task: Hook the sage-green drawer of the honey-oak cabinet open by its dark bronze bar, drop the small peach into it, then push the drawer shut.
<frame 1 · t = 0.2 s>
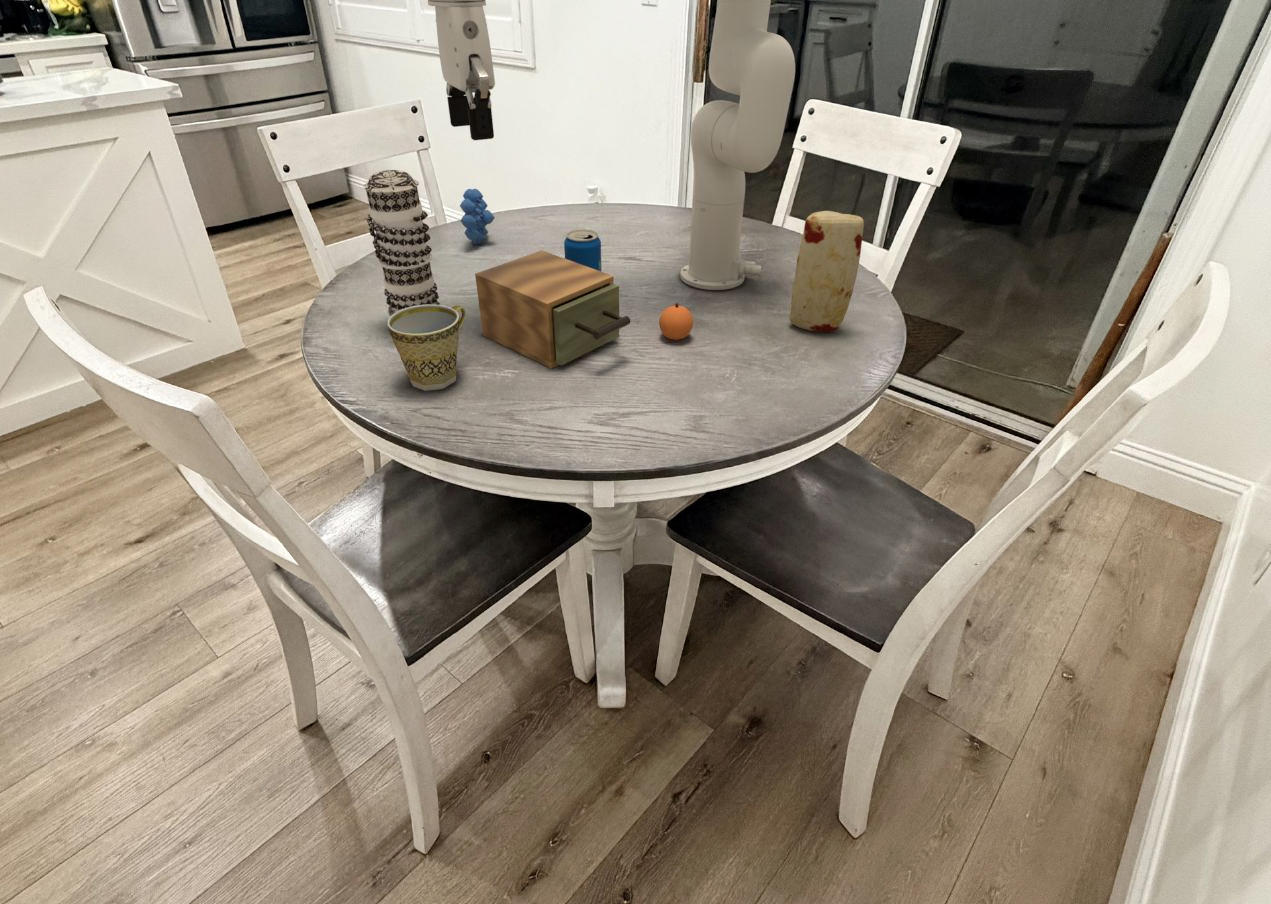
hand: (472, 132, 103), 31 cm above the table, tool pointing down, fingers open, 9 cm apart
drawer: (567, 315, 112), point 5 cm above the table, slide at 0.5 cm
cabinet: (548, 336, 118), on the table
food model: (815, 329, 121), on the table
grapes: (482, 245, 153), on the table
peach: (676, 322, 116), point 3 cm above the table
decorative candle: (418, 326, 121), on the table
beverage can: (584, 299, 130), on the table
ceramic cup: (441, 376, 107), on the table
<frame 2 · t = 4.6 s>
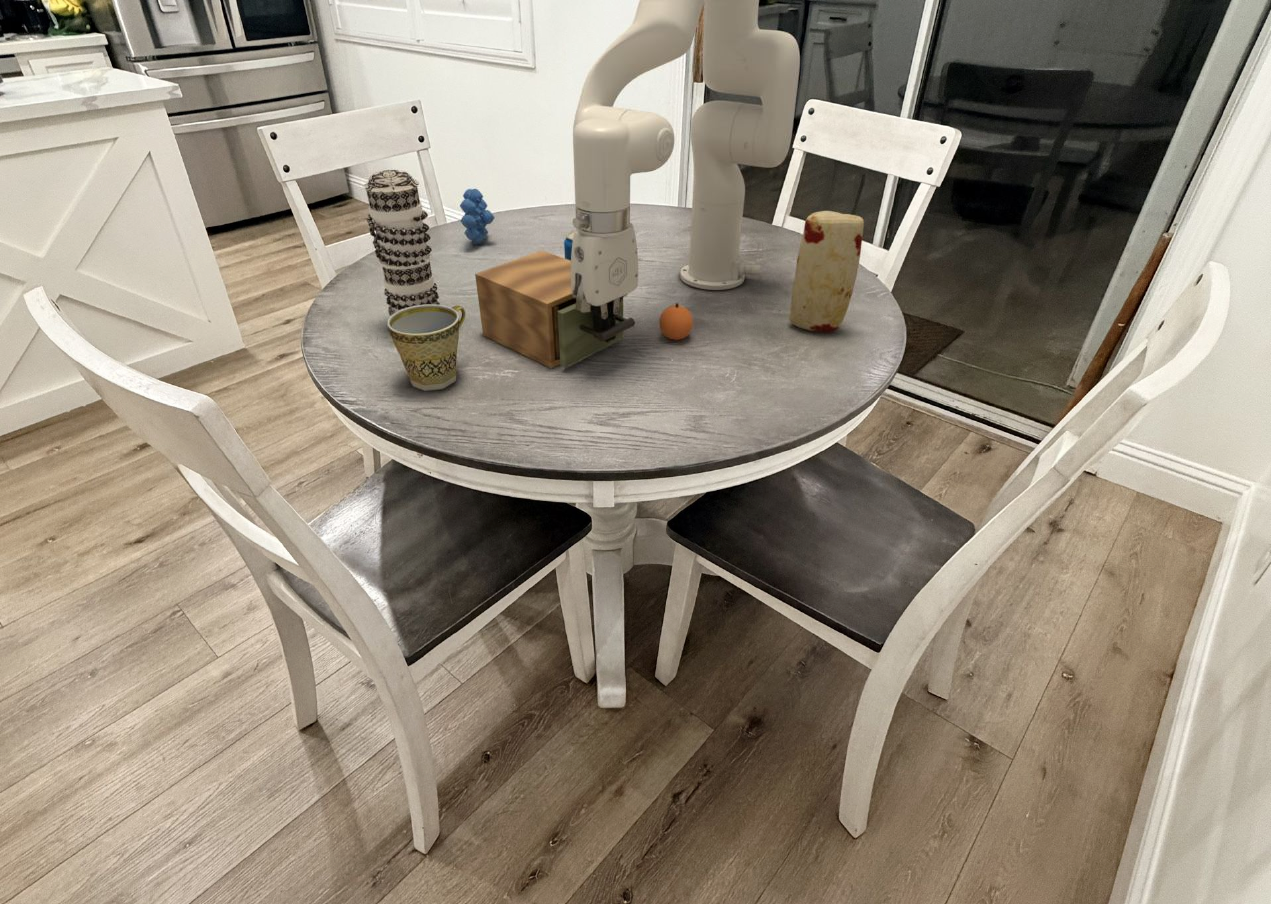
hand: (604, 337, 108), 4 cm above the table, tool pointing down, fingers closed
drawer: (571, 317, 112), point 5 cm above the table, slide at 1.4 cm, touching gripper
everything else where it was.
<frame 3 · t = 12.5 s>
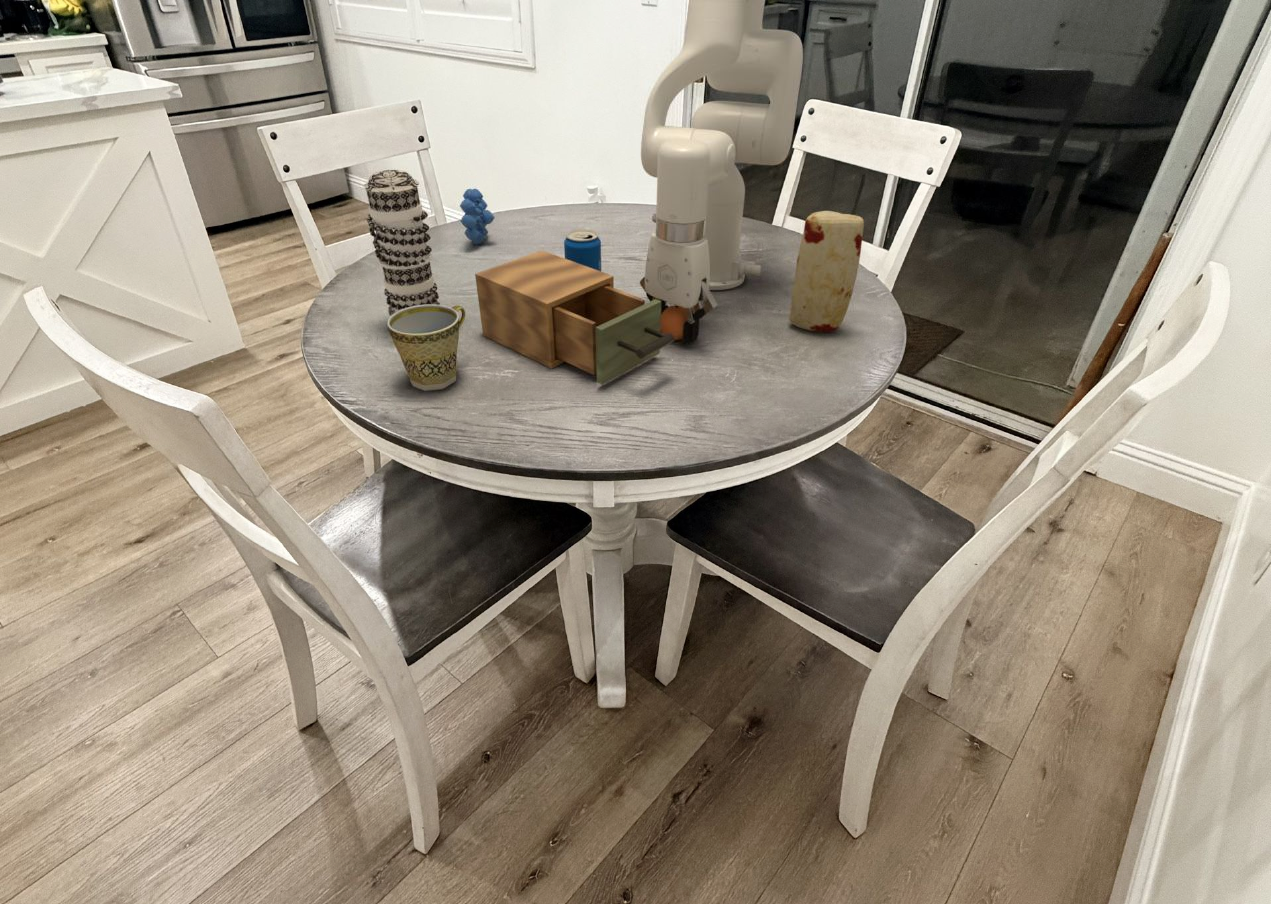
hand: (675, 335, 118), 1 cm above the table, tool pointing down, fingers closed on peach, 5 cm apart
drawer: (607, 331, 107), point 5 cm above the table, slide at 9.2 cm
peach: (676, 322, 116), point 3 cm above the table, touching gripper
everything else where it was.
when the fingers open (9 cm above the table, at t = 17.9 s): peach stays where it is, resting on drawer.
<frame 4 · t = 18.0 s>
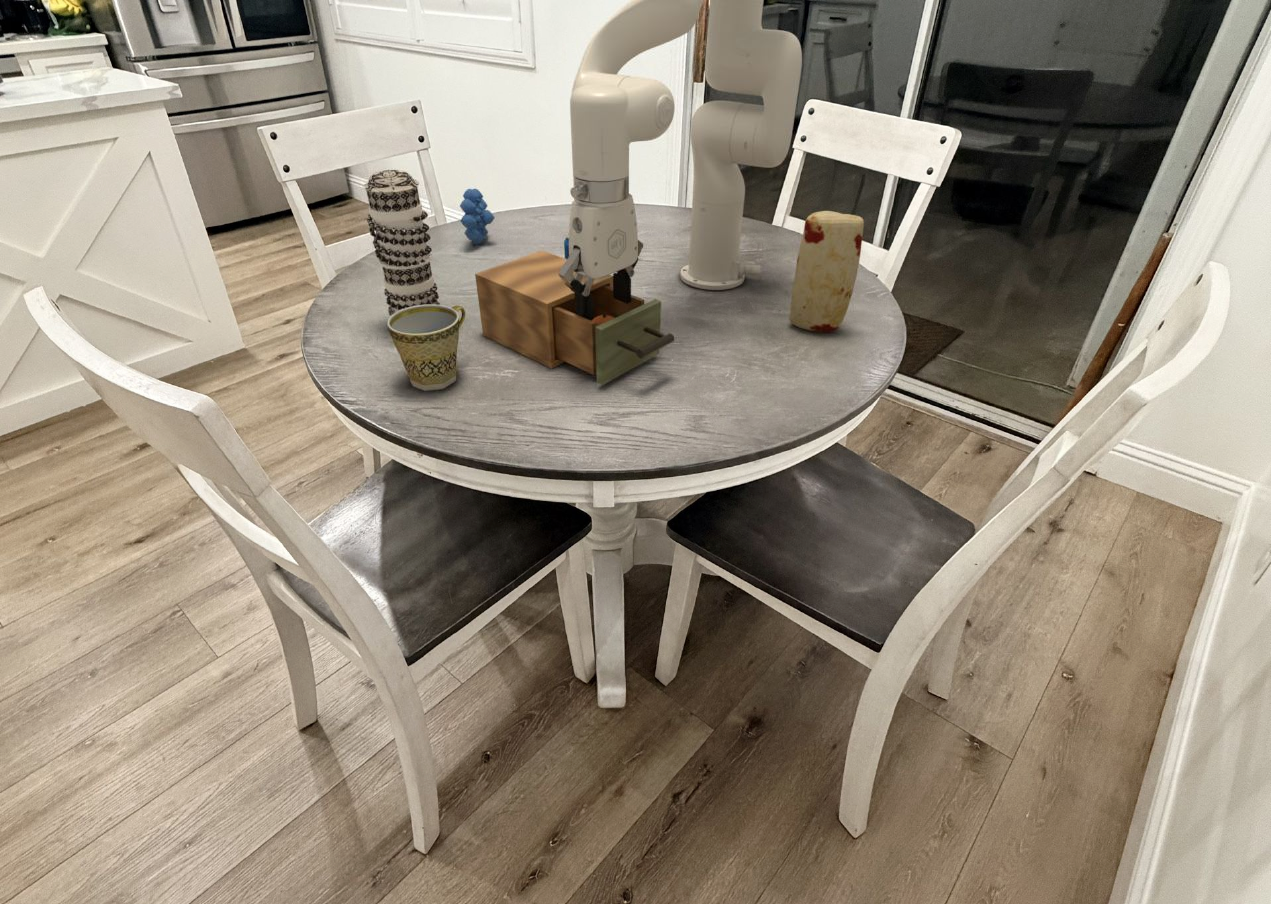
hand: (603, 308, 106), 9 cm above the table, tool pointing down, fingers open, 7 cm apart
drawer: (606, 331, 107), point 5 cm above the table, slide at 9.1 cm, touching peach
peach: (604, 333, 108), point 5 cm above the table, touching drawer
everything else where it was.
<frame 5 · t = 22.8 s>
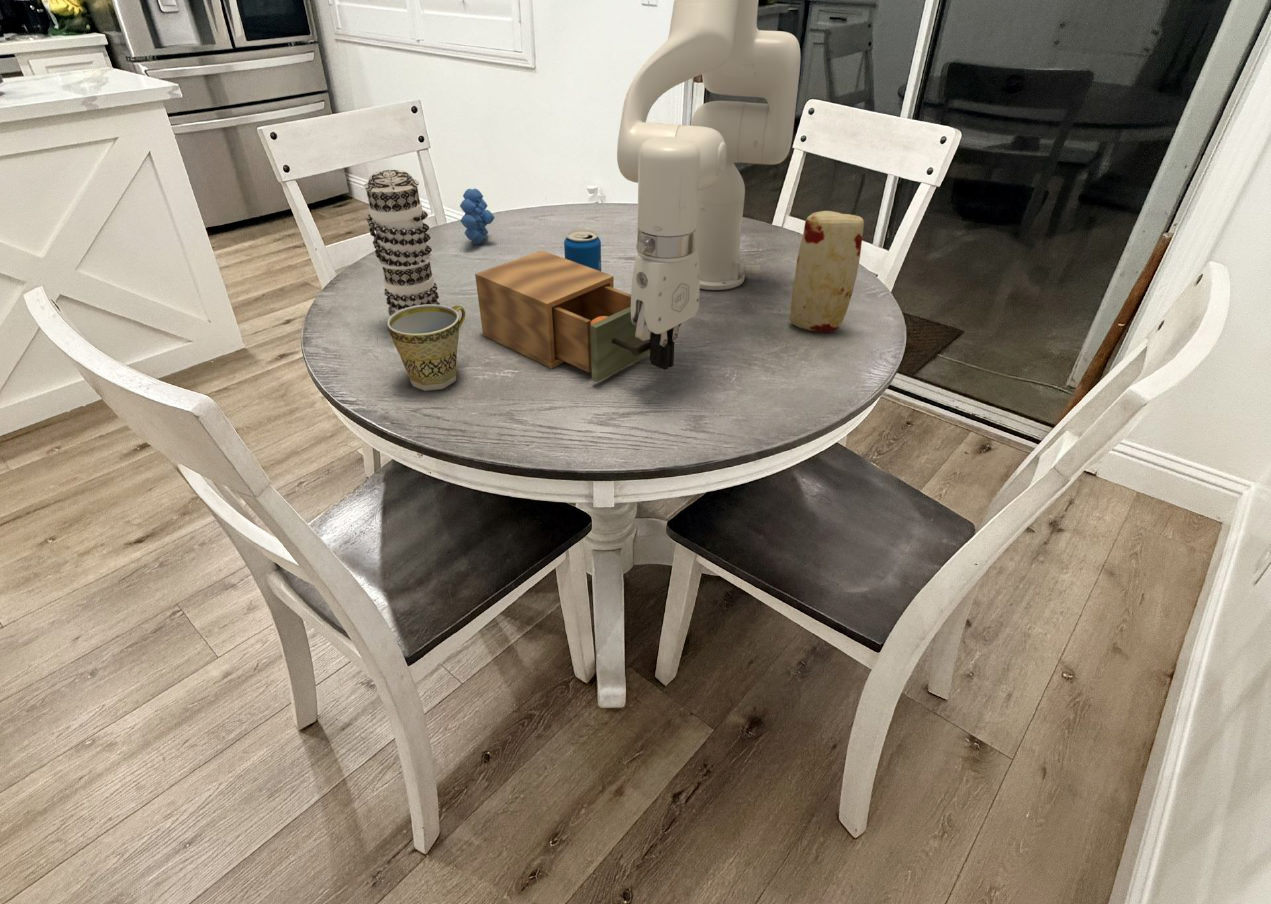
hand: (661, 365, 102), 4 cm above the table, tool pointing down, fingers closed
drawer: (602, 329, 108), point 5 cm above the table, slide at 8.1 cm, touching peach
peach: (604, 334, 108), point 5 cm above the table, tilted 26°, touching drawer
everything else where it was.
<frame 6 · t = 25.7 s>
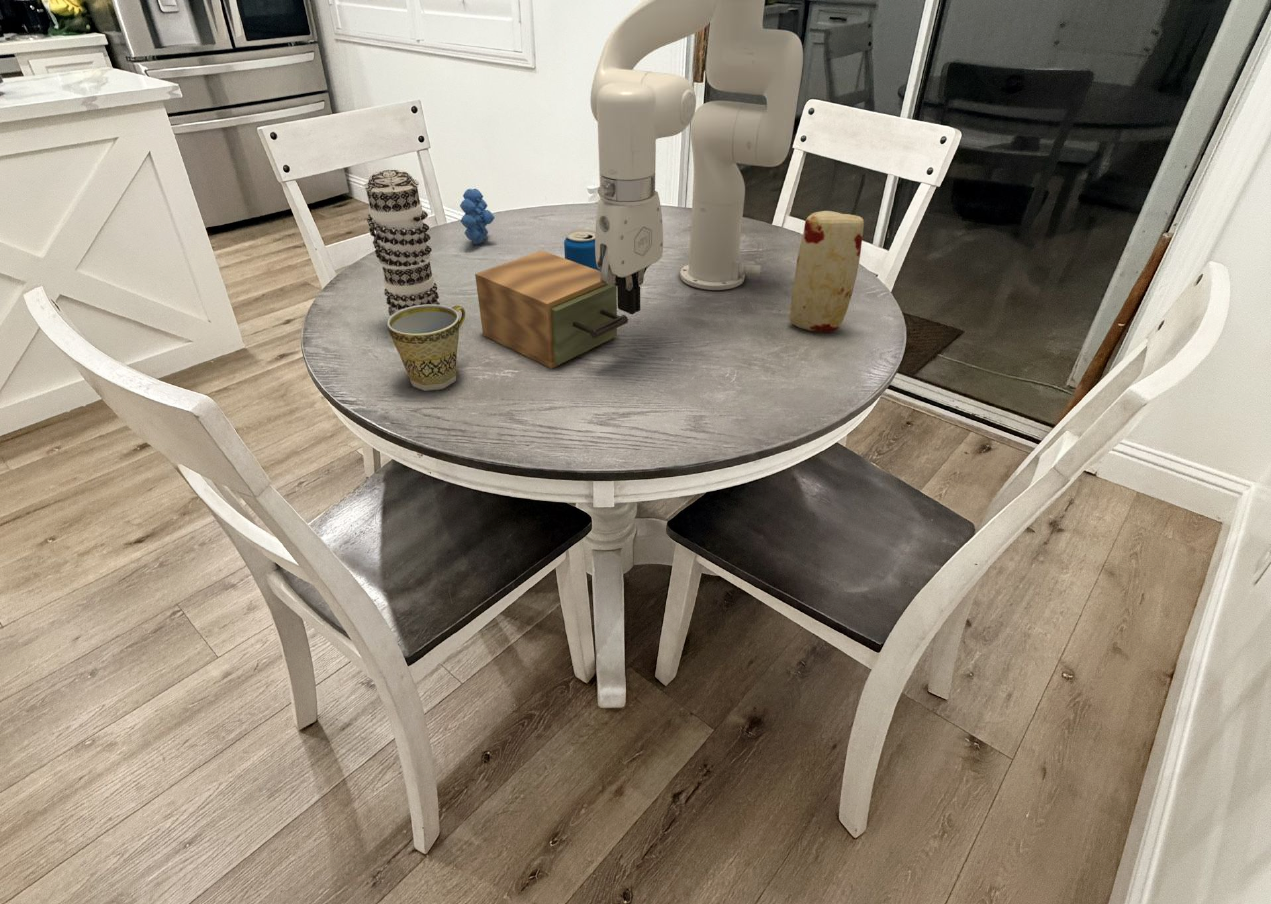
hand: (628, 309, 106), 9 cm above the table, tool pointing down, fingers closed
drawer: (565, 314, 112), point 5 cm above the table, slide at 0.0 cm, touching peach
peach: (549, 312, 114), point 5 cm above the table, tilted 55°, touching drawer
everything else where it was.
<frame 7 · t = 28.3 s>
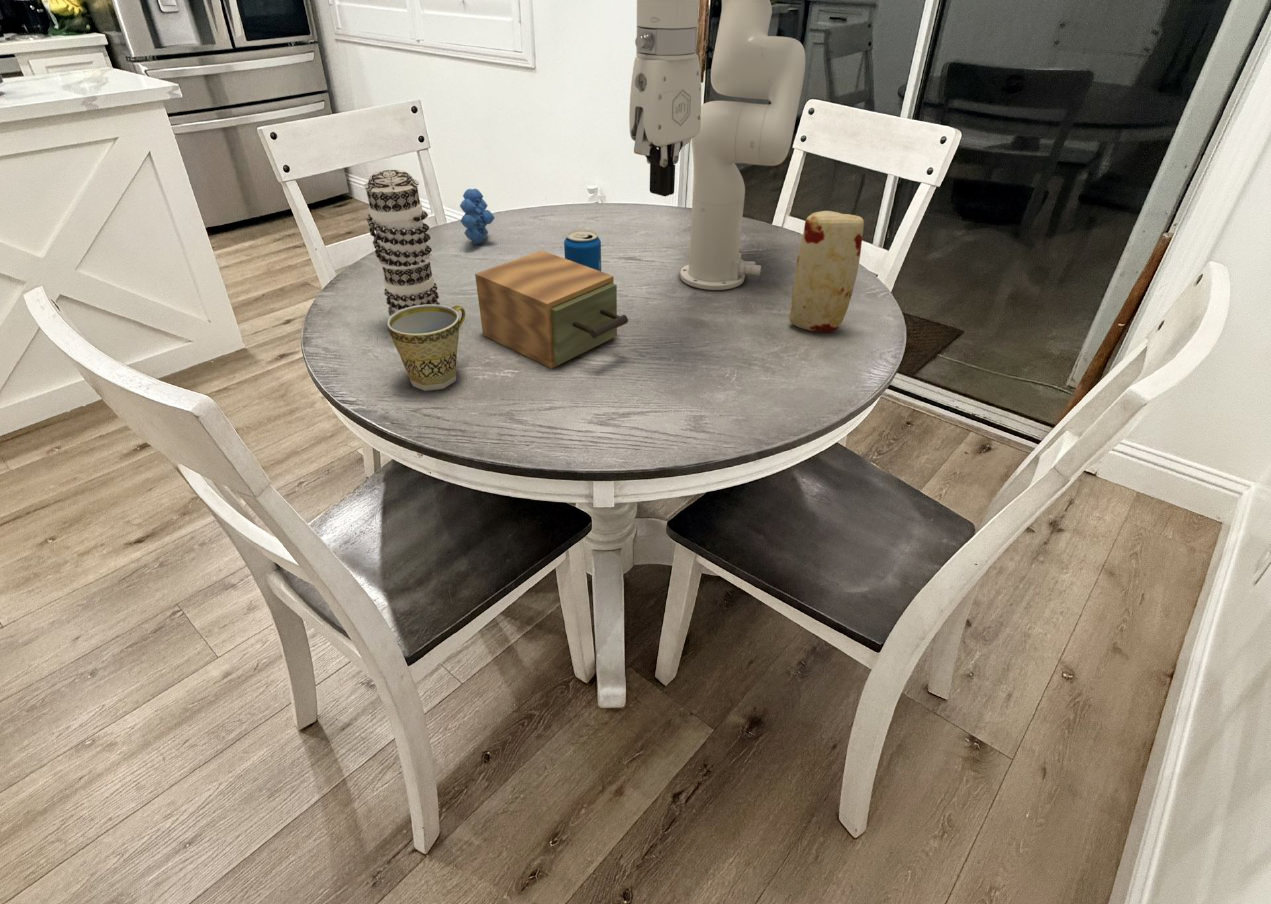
hand: (661, 193, 99), 25 cm above the table, tool pointing down, fingers closed
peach: (532, 307, 116), point 5 cm above the table, tilted 129°, touching drawer
everything else where it was.
at the end: drawer pulled out 9.2 cm at the most during the clip, back to where it started at the end; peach inside the target area in the cabinet (2.6 cm from its centre), point 4.9 cm above the cabinet's base; drawer slide at 0.0 cm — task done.
